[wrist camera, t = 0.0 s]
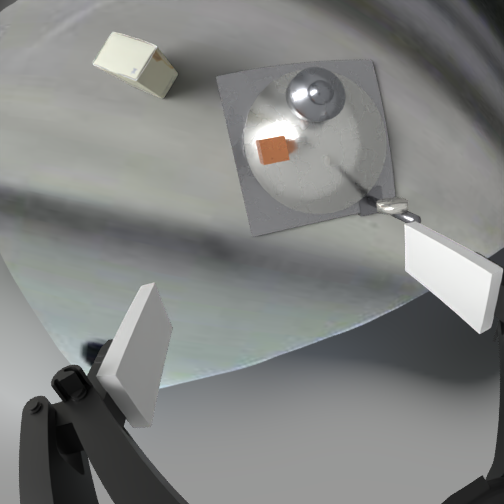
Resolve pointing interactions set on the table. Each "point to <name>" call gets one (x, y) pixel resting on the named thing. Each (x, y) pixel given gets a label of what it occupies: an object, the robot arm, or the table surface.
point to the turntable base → (236, 111)
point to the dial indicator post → (386, 206)
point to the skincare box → (136, 64)
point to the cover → (315, 95)
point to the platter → (315, 150)
